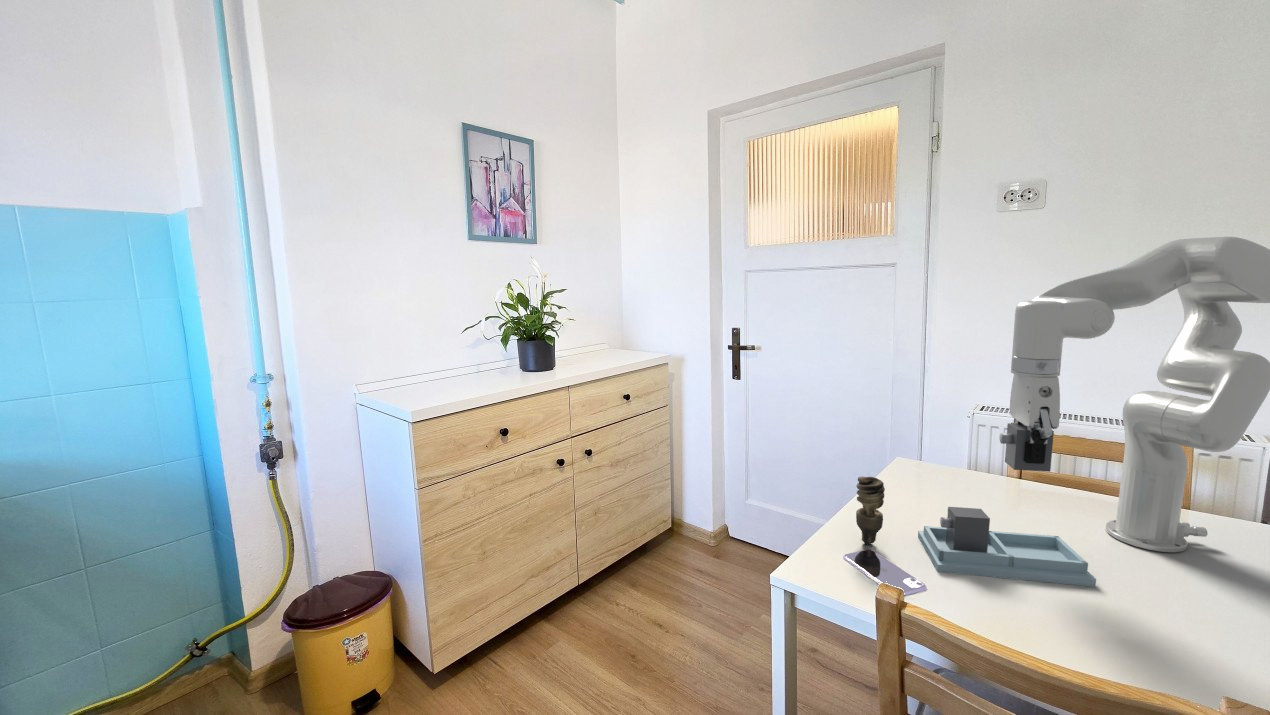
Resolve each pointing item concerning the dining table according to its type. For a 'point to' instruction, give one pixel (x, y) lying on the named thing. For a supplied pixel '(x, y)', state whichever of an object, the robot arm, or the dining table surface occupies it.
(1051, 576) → the tray
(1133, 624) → the dining table surface
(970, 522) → the docked twin block
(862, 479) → the light bulb
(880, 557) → the mobile phone
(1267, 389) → the robot arm
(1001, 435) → the plug block
